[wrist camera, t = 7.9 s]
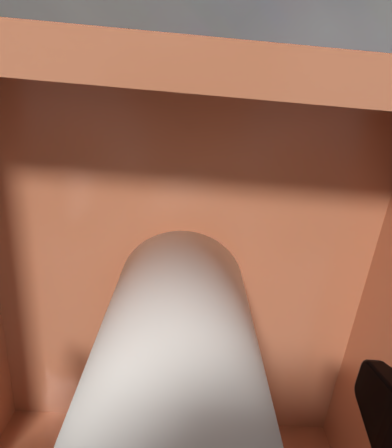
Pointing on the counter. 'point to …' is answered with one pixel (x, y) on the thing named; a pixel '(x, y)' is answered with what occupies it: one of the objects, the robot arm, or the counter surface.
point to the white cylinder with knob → (174, 357)
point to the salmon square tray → (194, 206)
